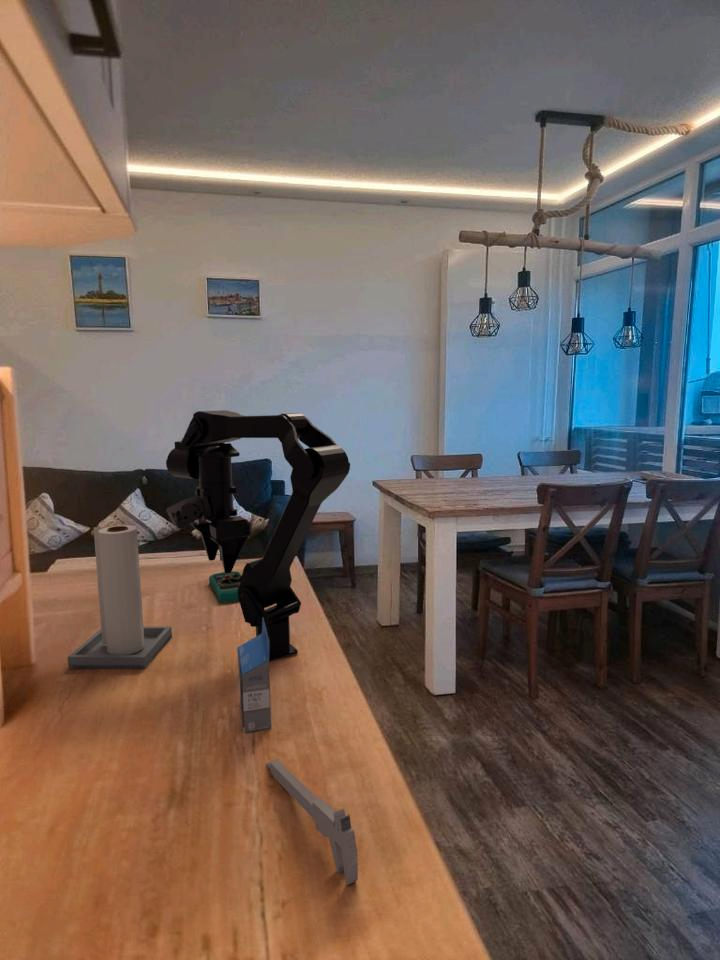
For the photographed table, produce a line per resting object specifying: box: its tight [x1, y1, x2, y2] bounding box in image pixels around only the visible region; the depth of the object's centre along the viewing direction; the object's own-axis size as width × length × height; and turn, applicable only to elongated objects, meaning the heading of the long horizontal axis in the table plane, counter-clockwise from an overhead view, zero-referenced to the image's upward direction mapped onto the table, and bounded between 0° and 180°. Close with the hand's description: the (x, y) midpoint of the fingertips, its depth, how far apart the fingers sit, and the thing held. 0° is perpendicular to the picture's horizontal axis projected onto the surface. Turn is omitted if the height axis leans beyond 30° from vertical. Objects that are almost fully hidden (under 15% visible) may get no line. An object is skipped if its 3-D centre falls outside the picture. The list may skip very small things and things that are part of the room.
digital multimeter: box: [208, 570, 242, 604], centre depth 132 cm, size 7×15×3 cm, turn 24°
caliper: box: [265, 759, 359, 886], centre depth 61 cm, size 20×1×6 cm, turn 30°
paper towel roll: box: [93, 525, 145, 655], centre depth 99 cm, size 7×6×21 cm
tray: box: [67, 625, 173, 670], centre depth 101 cm, size 13×13×2 cm
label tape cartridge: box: [237, 617, 272, 734], centre depth 80 cm, size 9×4×12 cm, turn 15°
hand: (219, 566), depth 106 cm, fingers open, 9 cm apart
